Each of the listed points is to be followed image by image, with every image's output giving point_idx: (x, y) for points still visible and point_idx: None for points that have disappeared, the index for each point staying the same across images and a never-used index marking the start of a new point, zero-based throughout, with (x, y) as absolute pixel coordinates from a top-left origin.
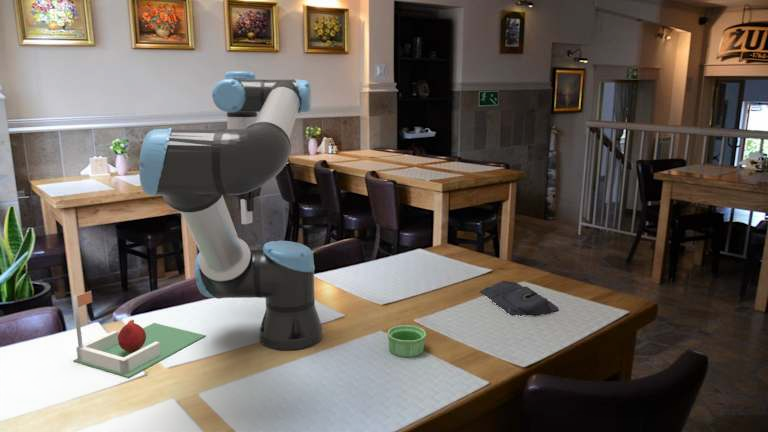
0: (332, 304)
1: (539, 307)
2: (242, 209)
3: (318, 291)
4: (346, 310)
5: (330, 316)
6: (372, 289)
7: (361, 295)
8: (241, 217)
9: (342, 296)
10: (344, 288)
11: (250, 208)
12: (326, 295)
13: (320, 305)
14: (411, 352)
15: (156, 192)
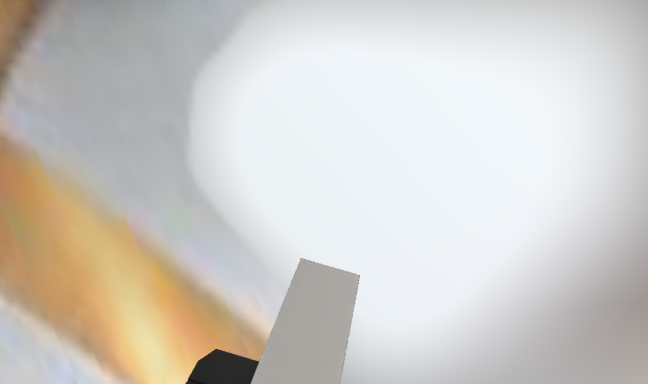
0: (77, 217)
1: None
2: (315, 366)
3: (183, 337)
4: (3, 167)
5: (33, 97)
6: (3, 378)
7: (15, 318)
8: (351, 312)
9: (76, 300)
10: (102, 377)
11: (192, 372)
12: (137, 302)
13: (116, 199)
14: None
15: None
